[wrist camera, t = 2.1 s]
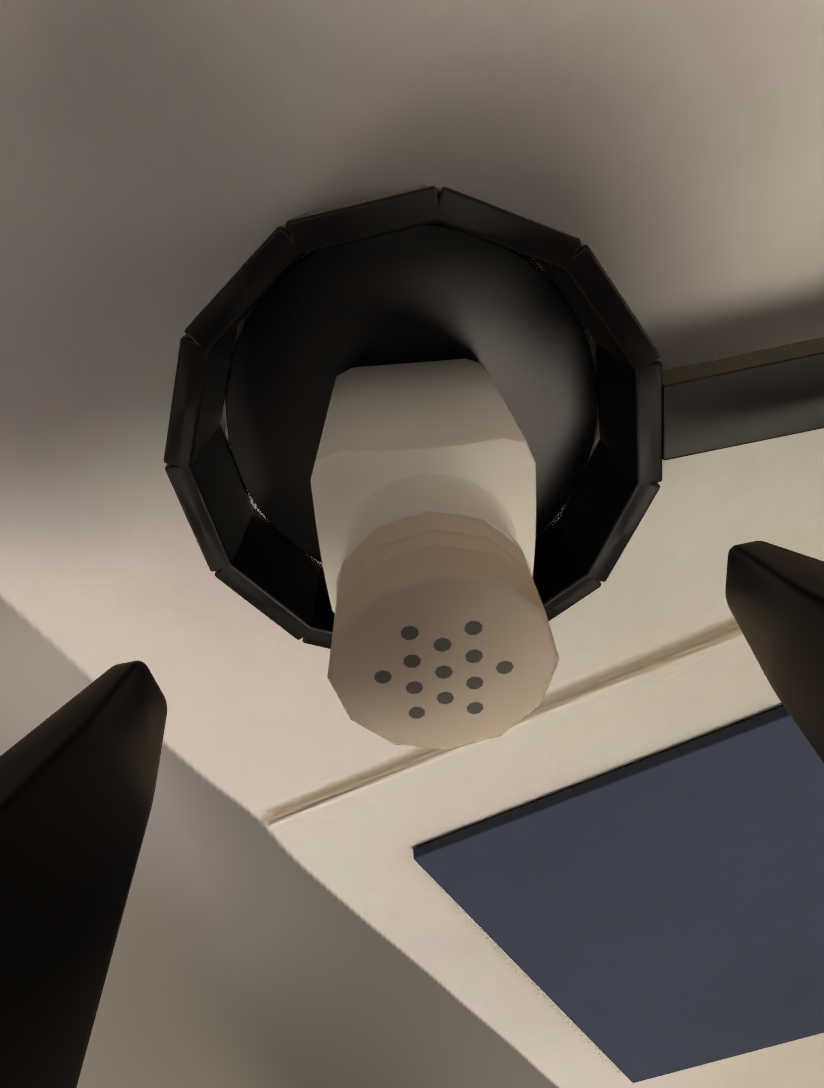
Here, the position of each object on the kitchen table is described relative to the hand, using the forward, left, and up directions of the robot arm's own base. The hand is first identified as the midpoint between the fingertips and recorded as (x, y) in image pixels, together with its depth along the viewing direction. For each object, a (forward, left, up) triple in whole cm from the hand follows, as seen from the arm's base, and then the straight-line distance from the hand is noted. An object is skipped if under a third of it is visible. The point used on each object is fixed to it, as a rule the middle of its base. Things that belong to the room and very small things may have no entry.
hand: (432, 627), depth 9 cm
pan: (+5, 0, -9) cm, 10 cm away
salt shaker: (0, 0, -9) cm, 9 cm away
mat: (+9, -29, -9) cm, 31 cm away
